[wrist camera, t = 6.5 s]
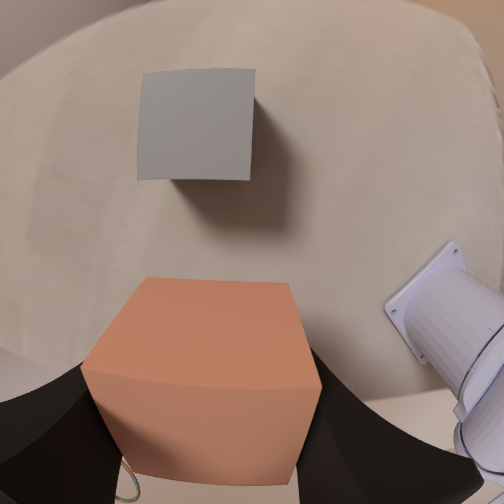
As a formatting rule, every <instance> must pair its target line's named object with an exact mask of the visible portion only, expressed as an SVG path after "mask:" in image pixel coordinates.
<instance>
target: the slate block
mask: <svg viewBox="0 0 504 504" xmlns="http://www.w3.org/2000/svg"><path fill="white" fill-rule="evenodd" d="M255 70H256V69H234V68H213V69H187V70H173V71H162V72H153V73H145V74H143V78H142V88H141V98H140V110H139V125H138V146H137V180H155V179H219V180H250V171H251V150H252V129H253V109H254V89H255Z"/></svg>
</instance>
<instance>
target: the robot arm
mask: <svg viewBox="0 0 504 504" xmlns="http://www.w3.org/2000/svg"><path fill="white" fill-rule="evenodd" d="M454 250H455V252H454ZM393 310H394V312H392V311H393ZM384 311H385V312H386V314H387V315H388V316H389V318H390V319H391V321H392V322H393V324H394V325H395V326H396V328H397V329H398V331H399V332H400V334H401V335H402V337H403V338H404V340H405V341H406V343H407V344H408V346H409V347H410V349H411V350H412V352H413V353H414V355H415V356H416V358H417V359H418V361H419V363H420V364H421V365H424V364H426V363H427V362H428V361H429V362H430V364H431V365H432V366H433V368H434V369H435V370H436V372H437V373H438V374H439V375H440V377H441V378H442V379H443V381H444V382H445V383H446V385H447V386H448V388H449V389H450V390H451V392H452V393H453V394H454V396H455V397H456V398H457V400H458V403H457V405H456V407H455V408H454V409H453V412H454V414H455V415H456V416H457V418H458V420H459V422H458V423H457V425H456V427H455V430H454V445H455V449H456V453H457V454H454V453H451V452H448V451H445V450H442V449H439V448H437V447H434V446H432V445H430V444H427V443H425V442H423V441H421V440H419V439H417V438H415V437H413V436H411V435H409V434H407V433H406V432H404V431H402V430H401V429H399V428H397V427H396V426H394V425H392V424H391V423H389V422H388V421H386V420H385V419H383V418H382V417H381V416H379V415H378V414H377V413H375V412H374V411H373V410H371V409H370V408H369V407H367V406H366V405H365V404H364V403H363V402H361V401H360V400H359V399H358V398H357V397H356V396H355V395H354V394H353V393H352V392H350V391H349V390H348V389H347V388H346V387H345V386H344V385H343V384H342V382H341V381H340V380H339V379H338V378H337V377H336V376H335V375H334V374H333V373H332V372H331V371H330V370H329V369H328V367H327V366H326V365H325V364H324V363H323V362H322V360H321V359H320V358H319V357H318V356H317V354H316V353H315V352H314V351H313V350H312V348H311V347H310V346H309V347H310V350H311V353H312V356H313V359H314V363H315V366H316V369H317V372H318V375H319V378H320V381H321V385H322V389H321V392H320V396H319V399H318V402H317V406H316V409H315V412H314V415H313V418H312V421H311V424H310V427H309V430H308V433H307V436H306V439H305V441H304V444H303V447H302V450H301V452H300V455H299V458H298V460H297V463H296V468H297V476H298V487H299V500H300V504H461V503H462V502H464V501H465V500H466V499H468V498H469V497H470V496H472V495H473V494H474V493H475V492H476V491H478V490H479V489H480V488H481V487H482V486H483V483H484V480H488V481H492V482H495V483H497V484H499V485H501V486H502V487H503V488H504V296H502V295H501V294H499V293H498V292H497V291H495V290H494V289H492V288H491V287H489V286H488V285H486V284H485V283H483V282H482V281H480V280H479V279H477V278H475V277H474V276H472V275H471V274H469V273H468V270H467V267H466V265H465V262H464V259H463V257H462V254H461V252H460V249H459V247H458V244H457V243H456V242H455V241H453V240H452V241H450V242H449V243H448V244H447V245H446V246H445V247H444V248H443V249H442V250H441V251H440V252H439V253H438V254H437V255H436V256H435V257H434V258H433V259H432V260H431V261H430V262H429V263H428V264H427V265H426V266H425V267H424V268H423V269H422V270H421V271H420V272H419V273H418V274H417V275H416V276H415V277H414V278H413V279H412V280H411V281H410V282H409V283H408V284H407V285H406V286H405V287H403V288H402V289H401V290H400V291H399V292H398V293H397V294H396V295H395V296H394V297H392V298H391V299H390V300H389V301H388V302H387V303H386V304H385V306H384ZM391 312H392V313H391ZM83 362H84V361H83ZM83 362H82V363H80V364H79V365H77V366H76V367H74V368H73V369H71V370H69V371H68V372H66V373H65V374H63V375H62V376H60V377H59V378H57V379H55V380H53V381H51V382H50V383H48V384H46V385H44V386H42V387H40V388H38V389H36V390H33V391H31V392H29V393H26V394H23V395H21V396H19V397H16V398H13V399H11V400H8V401H4V402H1V403H0V504H114V502H115V494H116V487H117V481H118V475H119V470H120V466H121V461H122V456H123V455H122V453H121V451H120V450H119V448H118V446H117V444H116V443H115V441H114V439H113V437H112V435H111V434H110V432H109V430H108V428H107V426H106V424H105V422H104V420H103V418H102V416H101V414H100V412H99V410H98V408H97V406H96V404H95V401H94V399H93V397H92V395H91V392H90V390H89V388H88V385H87V383H86V381H85V378H84V376H83V373H82V371H81V368H80V367H81V365H82V364H83ZM488 504H504V492H502V494H500V495H499V496H497V497H496V498H495V499H493V500H492V501H491V502H489V503H488Z"/></svg>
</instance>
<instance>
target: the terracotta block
mask: <svg viewBox="0 0 504 504" xmlns="http://www.w3.org/2000/svg"><path fill="white" fill-rule="evenodd" d="M80 368H81V371H82V373H83V376H84V378H85V381H86V383H87V385H88V388H89V390H90V392H91V395H92V397H93V399H94V401H95V404H96V406H97V408H98V410H99V412H100V414H101V416H102V418H103V420H104V422H105V424H106V426H107V428H108V430H109V432H110V434H111V435H112V437H113V439H114V441H115V443H116V444H117V446H118V448H119V450H120V451H121V453H122V455H123V456H124V458H125V459H126V461H127V463H128V464H129V466H130V467H131V469H132V471H133V472H135V473H139V474H144V475H148V476H153V477H159V478H164V479H170V480H177V481H185V482H192V483H201V484H213V485H230V486H271V485H288V483H289V480H290V478H291V475H292V473H293V470H294V468H295V465H296V463H297V460H298V458H299V455H300V452H301V450H302V447H303V444H304V441H305V439H306V436H307V433H308V430H309V427H310V424H311V421H312V418H313V415H314V412H315V409H316V406H317V402H318V399H319V396H320V392H321V389H322V385H321V381H320V378H319V375H318V372H317V369H316V366H315V363H314V359H313V356H312V353H311V350H310V347H309V344H308V341H307V338H306V335H305V332H304V329H303V326H302V323H301V320H300V317H299V314H298V311H297V308H296V305H295V302H294V299H293V296H292V293H291V290H290V287H289V284H288V283H268V282H237V281H212V280H191V279H172V278H155V277H146V278H145V279H144V281H143V282H142V283H141V284H140V286H139V287H138V288H137V289H136V291H135V292H134V293H133V295H132V296H131V297H130V299H129V300H128V301H127V303H126V304H125V305H124V306H123V308H122V309H121V310H120V312H119V313H118V314H117V316H116V317H115V319H114V320H113V321H112V323H111V324H110V325H109V327H108V328H107V329H106V331H105V332H104V334H103V335H102V336H101V338H100V339H99V341H98V342H97V343H96V345H95V346H94V348H93V349H92V351H91V352H90V354H89V355H88V356H87V358H86V359H85V361H84V362H83V364H82V365H81V367H80Z"/></svg>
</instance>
